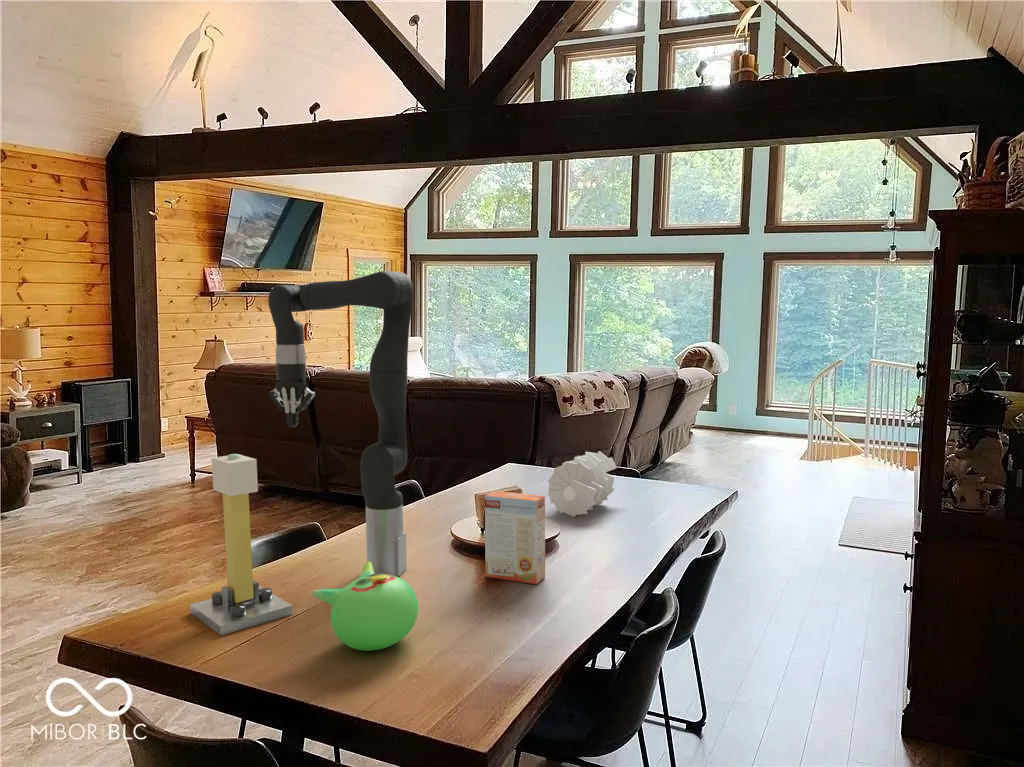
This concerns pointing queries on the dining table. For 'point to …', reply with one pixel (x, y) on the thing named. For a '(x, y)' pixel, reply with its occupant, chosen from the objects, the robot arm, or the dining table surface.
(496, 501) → the cracker box
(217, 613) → the tripod base plate
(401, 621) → the green horned blob
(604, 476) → the spiral staircase
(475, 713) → the dining table surface
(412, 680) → the dining table surface
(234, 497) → the post
